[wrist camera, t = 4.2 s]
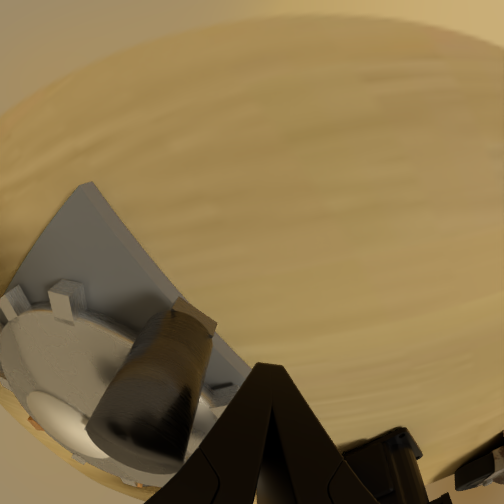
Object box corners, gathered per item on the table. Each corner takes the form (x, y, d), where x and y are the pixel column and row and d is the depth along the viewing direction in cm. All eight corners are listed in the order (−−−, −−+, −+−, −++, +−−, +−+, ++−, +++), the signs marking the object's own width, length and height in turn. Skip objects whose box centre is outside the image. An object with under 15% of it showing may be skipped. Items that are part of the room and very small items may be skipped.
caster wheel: (446, 465, 23) (468, 438, 19) (515, 442, 19) (547, 408, 15) (447, 509, 18) (473, 494, 13) (521, 482, 14) (558, 455, 9)
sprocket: (350, 436, 14) (368, 531, 8) (136, 487, 19) (120, 540, 13) (105, 160, 9) (-43, 196, 3) (-20, 351, 14) (-63, 398, 8)
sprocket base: (322, 435, 16) (325, 457, 14) (139, 479, 20) (135, 493, 19) (92, 181, 11) (68, 188, 9) (-15, 340, 16) (-27, 351, 14)
